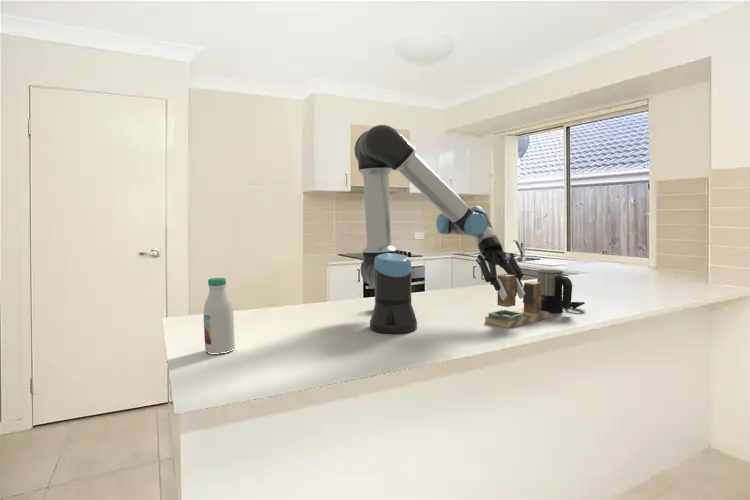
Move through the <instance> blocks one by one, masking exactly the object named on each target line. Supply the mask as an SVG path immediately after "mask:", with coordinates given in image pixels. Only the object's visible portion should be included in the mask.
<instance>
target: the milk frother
mask: <svg viewBox="0 0 750 500" xmlns="http://www.w3.org/2000/svg"><path fill="white" fill-rule="evenodd" d="M536 273H537V276H536V277H537V278H536V279H537V281H536V282H540V283H541V311H546V312H549V314H550V313H551V314H555V313H557V314H559V313H562V312H564V310H567V309H571V308H572V309H573V310H575V309H577V308H579V307H580V306H583V305H585V301H581V302H580V301H572V296H573V292H572V291H573V283H572V280H571V279H570V278H569V277H567V276H565V275H564V274H563V273H564V271H563V270H560V269H538V270H536Z"/></svg>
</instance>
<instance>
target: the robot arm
mask: <svg viewBox="0 0 750 500" xmlns="http://www.w3.org/2000/svg"><path fill="white" fill-rule="evenodd" d="M353 149H354V155H355V158H356V160H357V165H358V173H360V175H362V176H363V193H364V194H363V196H364V214H365V215H364V216H365V233H366V235H365V237H366V245H365V248H363V250H362V262H361V265H360V276H361V277H362V279H363V280H364V282H365V283H366V284H367V285H368V286H369V287H371V288H374V307H373V311H372V313H371V317H370V320H369V329H370V330H371V331H372V332H376V333H379V334H407V333H411V332H414V331H416V330H417V329H418V321H417V318H416V314H415V311H414V308H413V304H412V271H413V270H412V269H413V267H412V261H411V258H410V257H409V256H407V255H405V254H402V253H397V248H395V246H394V245H392V244H393V243H392V223H391V221H392V220H391V203H390V202H391V200H390V181H389V179H390V173H391V172H392V171H398V172H400V173H401V175H402V176H403V177H405V179H407V180H408V181H409V182H410V184H412V185H413V186H414V187H415V188H416V189H417V190H418V191H419V192H420V193H421V194H422V195H423V196H424V197H425V198H426V199H428V201H430V203H432V204H433V205H434V206H435V207H436V208H437V210H439V211H440V212H441V213H440V214H439V215H438V216H437V218H436V229H437V232H438V233H439V234H440V235H458V236H459V235H460V236H470V237H473V239H474V240H475V243H476V245H477V247H478V250H479V252H480V254H478V256H477V258H476V259H475V261H476V263H477V264H478V265H479V267H480V271H481V273H482V276H483V280H484V281H485V282H486V283H490V285H491V286H493V288H494V290H495V291H496V292H497V293H498V292H499V295H500V297H501V299H502V300H505V298H506V297H507V293H506V291H505V289H504V287H503V285H502V283H501V280H500V279H498V273H497V267H496V266H499V267H500V268H502V269H503V271H504V272H505V274H510V275H516V278H517V289H516V292H517V297H518V298H519V300H521V299H522V300H523V296H524V295H525V292H524V290H523V286H524V284H523V283H522V281H521V280H522V278H523V277H524V273H523V271H522V269H521V268H520V266H519V264H518V263H517V260H516V258H515V254H514V253H513V252H511V253H506V252H505V251H504V250H503V246H502V243H501V242H500V240H499V238H498V235H497V234H496V231H495V230H494V228H493V226H492V223H491V221H490V219H489V216H488V214H487V213H486V212H485V210H484V208H482V207H481V206H479V205H474V206H472V207H470V206H469V205H468V204H467V203H466V202H465V201H464V200H463V199H462V198H461V197H460V196H459V195H458V194H457V193H456V192H455V191H454V190H453V189H452V188H451V187H450V186H449V185H448V184H447V183H446V182H445V181H444V180H443V179H442V178H441V177H440V176H439V175H438V174H437V173H436V172H435V171H434V170H433V169H432V168H431V167H430V166H429V165H428V163H426V162H425V161H424V160H423V159H422V158H421V157H420V156H419V155H418V154H417V153H416V147H414V145H413V144H411V142H410V141H409V140H408V139H407V138H406V137H405V136H404V135H403V134H401V133H400V132H399V131H398V130H396V129H395V128H394V127H392V126H390V125H386V124H377V125H375V126H373V127H371V128H370V129H369V130H367V131H364V132H363V133H361V135H360V136H359V137H358V138H357V140H356V141H355V144H354V148H353ZM487 263H488V264H487Z"/></svg>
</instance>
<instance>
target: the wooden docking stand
mask: <svg viewBox="0 0 750 500" xmlns="http://www.w3.org/2000/svg"><path fill="white" fill-rule="evenodd" d="M522 288H523V290H524V292H525V295H524V296H523V298H522V303H523V308H519V309H516V310H509V309H500V310H494V311H490V312H488V315H487V316H485V317H484V318H485V319H484V323H485V324H489V325H493V326H498V327H502V328H505V329H510V328H514V327H518V326H521V325H522V326H523V325H525V324H530V323H532V322H533V323H535V322H537V321H541V320H546V319H549V318H550V313H549V312H546V311H541V283H540V282H537V281H525V282H524V284H523V287H522Z"/></svg>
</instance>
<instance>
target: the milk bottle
mask: <svg viewBox="0 0 750 500" xmlns="http://www.w3.org/2000/svg"><path fill="white" fill-rule="evenodd" d="M207 285H208V286H207V287H208V289H209V291H208V295H207V298H206V301H204V302H205V303H204V306H203V331H204V333H203V334H204V349H205V352H206V351H207V352H210V353H221V352H227V351H230V350H232V349H234V350H235V349H236V346H235V345H236V344H235V343H236V342H235V341H236V340H235V338H236V337H235V322H234V321H235V319H234V317H235V316H234V307H233V304H232V301H231V299H230V297H229V295H228V293H227V289H226V286H227V279H226V278H225V277H212V278H209V279H207Z"/></svg>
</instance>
